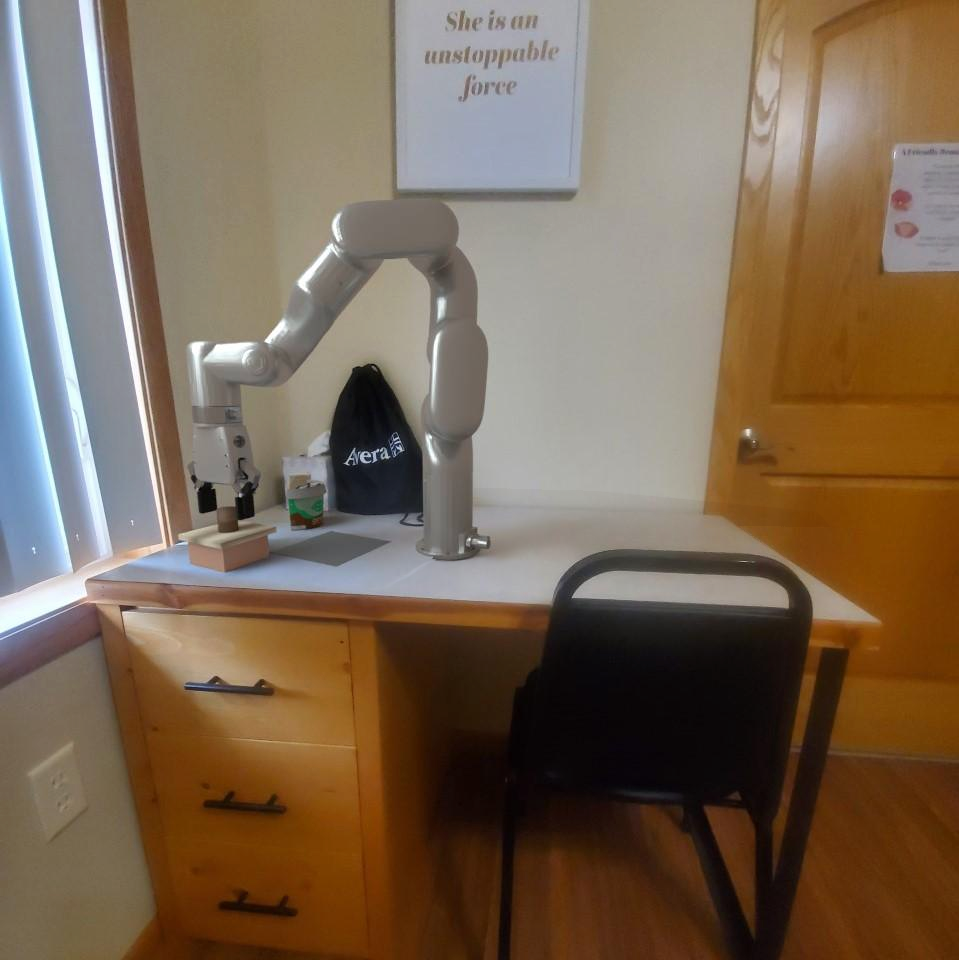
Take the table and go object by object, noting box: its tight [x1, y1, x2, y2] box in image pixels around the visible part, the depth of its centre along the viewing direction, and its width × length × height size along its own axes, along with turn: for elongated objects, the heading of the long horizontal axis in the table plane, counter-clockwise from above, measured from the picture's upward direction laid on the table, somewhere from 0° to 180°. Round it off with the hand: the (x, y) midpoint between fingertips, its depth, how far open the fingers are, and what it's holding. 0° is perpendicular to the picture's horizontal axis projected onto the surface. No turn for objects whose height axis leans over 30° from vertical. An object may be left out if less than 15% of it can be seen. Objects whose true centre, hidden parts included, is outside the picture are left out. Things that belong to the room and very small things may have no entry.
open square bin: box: [187, 535, 270, 573], centre depth 86 cm, size 9×9×5 cm
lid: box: [177, 505, 277, 549], centre depth 85 cm, size 11×11×5 cm
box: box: [286, 471, 312, 519], centre depth 116 cm, size 5×4×11 cm
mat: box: [269, 530, 392, 567], centre depth 94 cm, size 16×16×1 cm
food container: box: [286, 479, 328, 532], centre depth 108 cm, size 12×6×10 cm, turn 179°
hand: (226, 515), depth 84 cm, fingers open, 9 cm apart
